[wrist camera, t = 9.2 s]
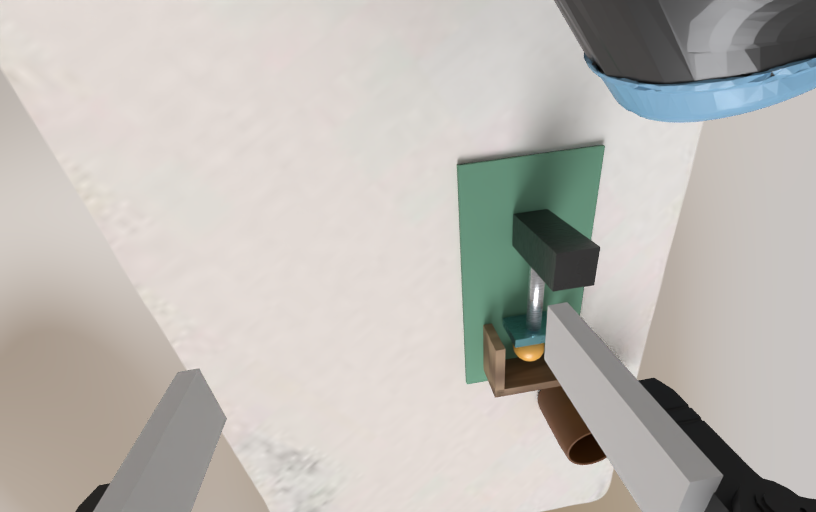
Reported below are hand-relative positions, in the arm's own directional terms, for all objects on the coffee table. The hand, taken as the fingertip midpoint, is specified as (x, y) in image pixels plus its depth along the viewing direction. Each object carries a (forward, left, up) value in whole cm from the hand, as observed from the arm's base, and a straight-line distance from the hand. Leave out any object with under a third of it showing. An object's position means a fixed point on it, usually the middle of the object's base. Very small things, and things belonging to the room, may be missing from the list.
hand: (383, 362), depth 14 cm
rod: (+14, +17, -26) cm, 34 cm away
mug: (+38, +26, -27) cm, 53 cm away
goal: (+25, +17, -26) cm, 40 cm away
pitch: (+16, +17, -27) cm, 36 cm away
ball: (+24, +17, -24) cm, 38 cm away
